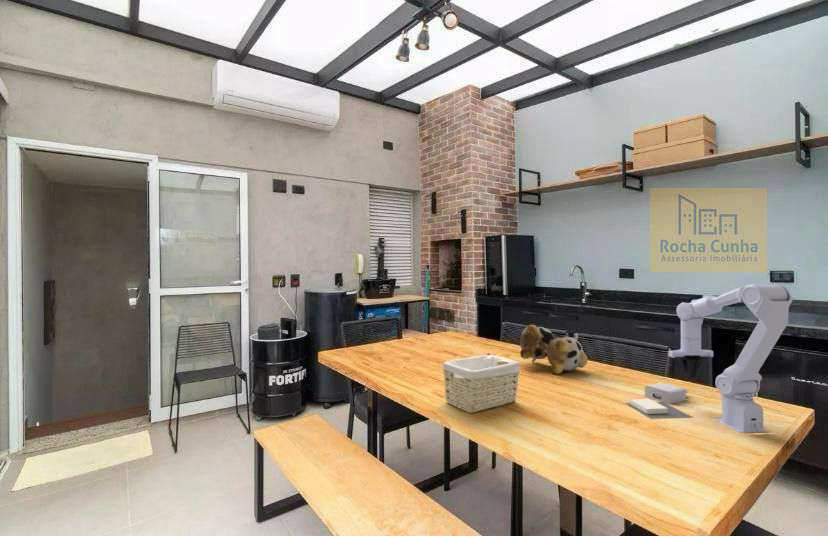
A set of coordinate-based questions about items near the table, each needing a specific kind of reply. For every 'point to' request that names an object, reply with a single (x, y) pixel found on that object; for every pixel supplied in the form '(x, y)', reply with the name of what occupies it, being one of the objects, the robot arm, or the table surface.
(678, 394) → the charger
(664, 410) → the tile
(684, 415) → the mat
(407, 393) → the table surface
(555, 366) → the toy
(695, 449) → the table surface
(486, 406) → the object
